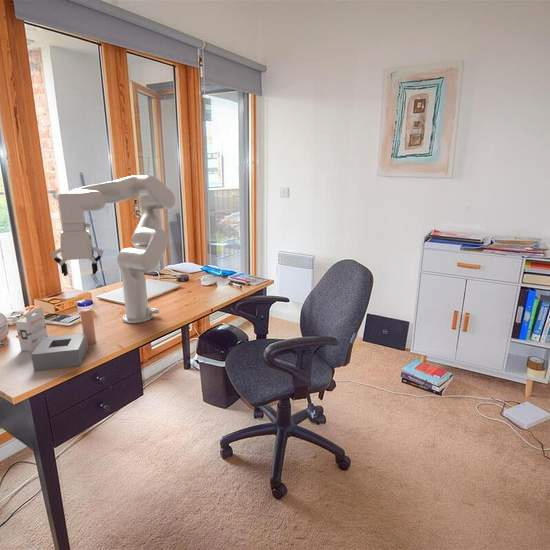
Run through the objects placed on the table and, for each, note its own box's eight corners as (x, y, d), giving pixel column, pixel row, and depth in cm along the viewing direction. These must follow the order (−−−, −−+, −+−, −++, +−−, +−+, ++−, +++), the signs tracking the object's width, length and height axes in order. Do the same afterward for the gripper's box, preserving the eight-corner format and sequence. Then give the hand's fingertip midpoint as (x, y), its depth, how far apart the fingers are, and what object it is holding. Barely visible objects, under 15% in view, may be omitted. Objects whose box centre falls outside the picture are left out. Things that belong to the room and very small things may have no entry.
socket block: (88, 347, 146) (85, 332, 144) (80, 365, 133) (77, 349, 131) (46, 352, 142) (43, 337, 141) (34, 371, 129) (31, 354, 128)
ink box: (37, 341, 151) (31, 305, 148) (49, 342, 151) (43, 305, 147) (20, 351, 143) (13, 313, 139) (32, 352, 143) (25, 314, 139)
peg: (96, 339, 153) (92, 308, 149) (95, 343, 149) (90, 311, 146) (85, 340, 152) (81, 309, 148) (83, 345, 148) (79, 312, 145)
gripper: (102, 225, 144) (107, 270, 149) (50, 226, 140) (56, 273, 144) (98, 228, 137) (104, 275, 142) (43, 230, 133) (51, 278, 137)
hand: (80, 274), depth 143 cm, fingers open, 9 cm apart
